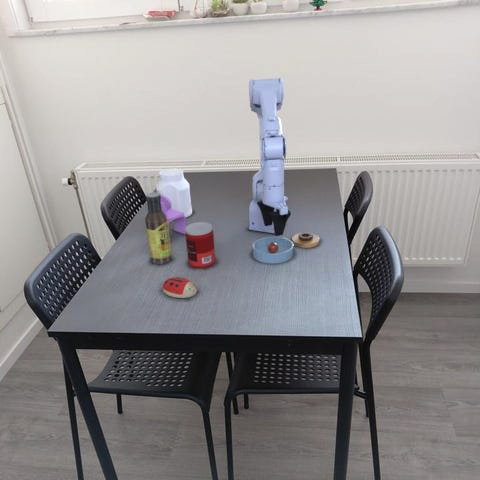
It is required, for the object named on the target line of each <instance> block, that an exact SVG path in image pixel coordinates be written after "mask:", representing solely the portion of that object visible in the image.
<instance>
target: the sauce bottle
mask: <svg viewBox="0 0 480 480" xmlns="http://www.w3.org/2000/svg"><path fill="white" fill-rule="evenodd" d="M145 200H146V203H147V205H146V206H147V211H148V212H147V214H146V215H145V229H146V235H147V237H146V238H147V244H148V250H149V257H150V261H151V262H152V263H153V264H157V265H164V264H167V263H169V262H171V261H172V245H171V237H170V229H169V224H168V220H167V217H166V215H165V214H164V212H163V211H162V207H161V201H160V200H161V195H160V193H157V192H155V191H153V192H148V193H147V194H145Z"/></svg>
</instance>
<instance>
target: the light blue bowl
mask: <svg viewBox="0 0 480 480" xmlns="http://www.w3.org/2000/svg"><path fill="white" fill-rule="evenodd" d="M272 242H274V243H276V244H277V245H278V251H277V252H276V253H270V252H269V251H268V245H269V244H270V243H272ZM294 246H295V245H294V244H293V242H292V240H290V239H289V238H286V237H282V236H265V237H261V238H259V239H257V240H255V241H254V242H252V247H251V248H252V258H254V259H255V260H256V261H258V262H260V263H264V264H269V265H270V264H281V263H286V262H288V261H289V260H291V259H292V258H293V257H294Z"/></svg>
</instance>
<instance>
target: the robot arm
mask: <svg viewBox="0 0 480 480" xmlns="http://www.w3.org/2000/svg"><path fill="white" fill-rule="evenodd" d="M248 96H249V97H248V99H249V108H250V111H251V112H253V113H255V114H256V116H257V119H258V132H259V133H258V134H259V159H260V170H259V171H257V172H256V173H254V175H253V176H252V184H251V186H252V187H251V189H252V200H251V202H250V203H249V209H248V210H249V211H248V218H249V219H248V220H249V221H248V222H249V227H248V230H250V231H254V232H255V231H257V232H264V233H269V234H274V235H275V237H281V236H283V235H284V232H285V228H286V226H287V222H288V219H290V217H291V215H292V212H291V211H290V210H289V208H288V206H287V204H286V201H288V200H289V199H288V197H287V196H286V195H285V160H286V157H287V141H286V137H285V134H284V133H283V125H282V120H281V118H280V117H279V116H277V112H278V111H280V110H281V109H282V106H283V101H284V99H285V97H284V96H285V82H284V79H283V78H282V77H278V78H262V79H261V78H259V79H253V78H250V79H249V81H248Z"/></svg>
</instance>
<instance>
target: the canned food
mask: <svg viewBox="0 0 480 480" xmlns="http://www.w3.org/2000/svg"><path fill="white" fill-rule="evenodd" d="M184 235H185V243H186V251H187V259H188V260H187V261H188V264H189V266H190V267H192V268H194V269H207V268H211V267H212V266H214V264H215V262H216V249H215V236H214V227H213V224H211V223H210V222H206V221H199V222H193V223H190V224H188V225H186V228H185V234H184Z"/></svg>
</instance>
